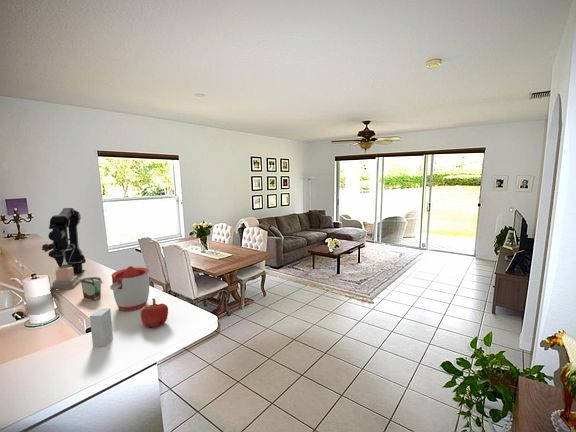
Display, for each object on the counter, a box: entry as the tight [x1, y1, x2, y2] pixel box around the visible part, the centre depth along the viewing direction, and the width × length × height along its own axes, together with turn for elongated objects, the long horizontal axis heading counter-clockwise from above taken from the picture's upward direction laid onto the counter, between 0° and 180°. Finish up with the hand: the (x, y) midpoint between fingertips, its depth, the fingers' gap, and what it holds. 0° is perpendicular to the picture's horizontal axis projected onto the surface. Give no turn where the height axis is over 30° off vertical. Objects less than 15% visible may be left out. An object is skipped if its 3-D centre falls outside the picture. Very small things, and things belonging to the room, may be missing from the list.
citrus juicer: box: [110, 265, 150, 312], centre depth 132 cm, size 16×17×20 cm
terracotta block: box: [55, 267, 75, 281], centre depth 158 cm, size 6×6×6 cm
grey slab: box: [52, 275, 78, 287], centre depth 158 cm, size 9×9×2 cm
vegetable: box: [140, 297, 169, 328], centre depth 116 cm, size 11×10×10 cm
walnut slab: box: [50, 278, 82, 291], centre depth 159 cm, size 11×11×2 cm
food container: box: [80, 276, 103, 302], centre depth 143 cm, size 12×6×10 cm, turn 65°
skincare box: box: [89, 308, 114, 347], centre depth 103 cm, size 6×4×12 cm
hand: (64, 264), depth 157 cm, fingers open, 9 cm apart
